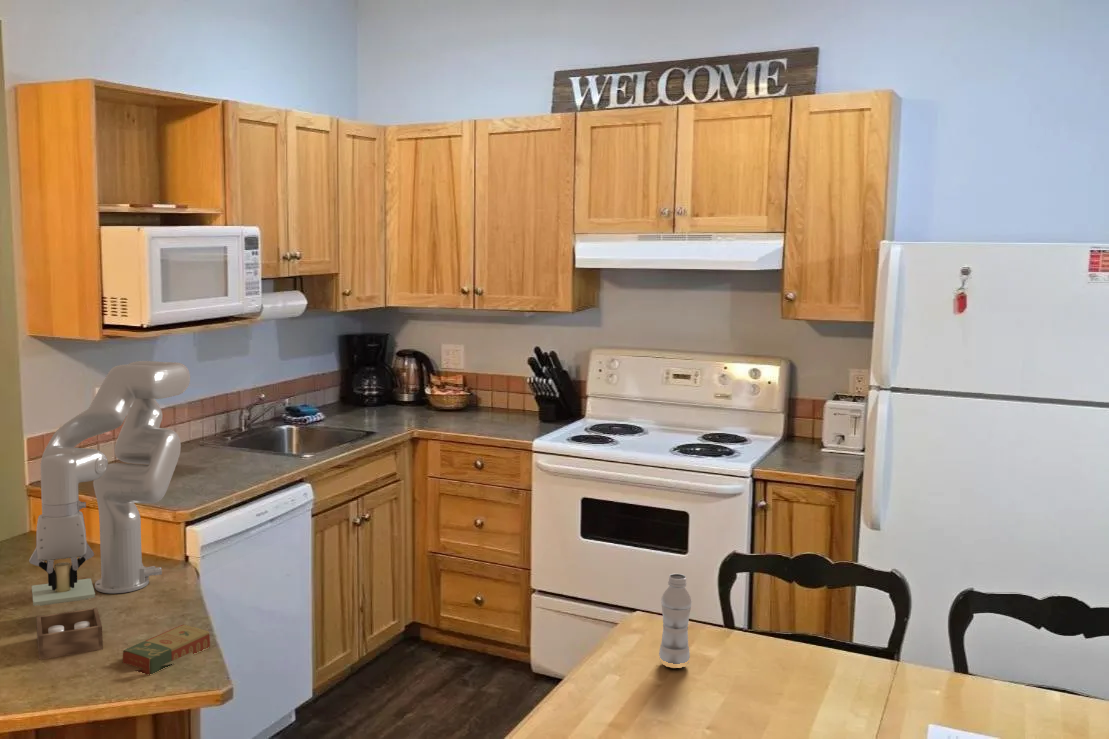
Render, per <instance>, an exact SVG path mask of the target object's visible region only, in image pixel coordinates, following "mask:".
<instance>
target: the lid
mask: <svg viewBox="0 0 1109 739" xmlns="http://www.w3.org/2000/svg"><path fill="white" fill-rule="evenodd" d="M53 567H54V570H55V580H56V589H55V590H52V586H48V583H42V584H35V585H31V593H32V604H33V607H36V606H40V607H41V606H48V605H55V604H56V605H57V604H64V603H70V602H77V601H78V602H79V601H85V600H89V599H94V598H96V592H95V587H94V585H93V581H92V578H85V579H84V578H83V579H77V583H74V588H72V587H71V583H70V568H71V562H58V563H55V564H53Z"/></svg>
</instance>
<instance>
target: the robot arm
mask: <svg viewBox="0 0 1109 739" xmlns="http://www.w3.org/2000/svg"><path fill="white" fill-rule="evenodd" d="M190 373H191V372H190V371H189V369H188V367H187V366H186V365H184V364H183V363H181V362H173V361H171V362H170V361H157V360H156V361H152V360H151V361H149V360H139V361H133V362H129V363H128V364H120V365H116V366H113V367H111V369H110V370H109V371H108V373H107V375H106V376H105V377H104V379H103V381H102V383H101V385H100V387H99V388H98V390H97V393H96V394H95V396H94V397H93V400H92V402H91V403H90V405H89V407H88V408H87V409H85V410H84V411H83V412H81V413H79V414H77V415H75V416H74V417H73V418H71V419H70V420H68V421H67V422H65V423H64V424H63V425H60V427H59V428H58V429H56V431H55V432H54V434H53V435H52V436H51V438H50V439H49V441H48V444H47V445H46V446H45V448H44V451H43V453H42V456H41V459H40V488H41V489H40V491H41V514H40V515H38V518H37V524H36V533H35V534H36V537H35V538H36V540H35V541H36V542H35V544H36V545H35V549H34V551H32V554H31V556H30V558H29V560H28V562H29V564H31V565H33V566H36V567H39V568H40V569H42V570H43V571H45V572H46V573H47V584H48V586H52V590H55V589H56V580H55V567H54V562H55V561H56V560H65V559H70V561H71V562H70V583H71V587H72V588H74V583H77V580H78V570H79V568H80V567H81V566H82V565H83V564H84V563H85V562H86V561H88V560H89V559H92V558H93V557H95V552H94V551H93V549H92V548H91V547H90V545H89V544H88V542H87V533H86V532H87V531H86V524H85V519H84V518H85V517H84V514H83V512H82V511H81V509H86V508H87V502H85V501H81V500H80V499H79V484H80V483H86V482H92V481H93V489H94V495H95V498H96V501H97V507H98V517H99V544H100V545H99V547H100V573H101V576H100V577H101V578H99V579H98V580H96V581H95V583H94V590H95V591H97V592H99V593H104V594H124V593H129V592H130V593H131V592H134V591H139V590H141V589H142V588H145V587H147V585H149V583H150V578H149V577H150V576H160V575H161V576H162V574H163V569H162V566H158V567H156V565H152V566H151V565H150V566H144V563H143V559H142V557H143V556H142V529H141V528H142V524H141V523H142V520H141V514H140V511H139V509H138V507H137V505H136V503H137V504H155V503H158V502H160V501H162V499H163V498H164V497H165V495H166V493H167V491H168V489H169V486H170V483H171V481H172V478H173V475H174V472H175V470H176V466H177V464H178V462H179V458H180V455H181V447H182V446H181V445H182V444H181V443H182V442H181V438H180V436H179V434H178V433H177V432H176V431H175V430H173V429H171V428H167V427H165V428H164V427H161V423H162V421H163V417H164V416H163V415H164V414H163V411H162V408H161V407H160V405H159V403H158V402H157V400H161V399H167V398H171V397H175V396H179V395H182V394H183V393H184V392H185V391H186V390H187V389H188V387H189V386H190V384H191V383H190V382H191V374H190ZM121 426H122V427H121ZM120 427H121V429H120V431H119V434H118V436H117V440H116V442H115V446H114V455H115V457H116V459H118V460H119V461H121V462H124V463H121V462H115V463H113V462H112V463H109V461H108V457H107V456H106V455H105V452H102V451H101V450H98V449H95V448H82V447H76V446H77V445H79V444H80V443H82V442H84V441H86V440H87V439H90V438H93V437H96V436H99V435H102V434H105V433H108V432H111V431H114V430H116V429H118V428H120Z"/></svg>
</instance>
